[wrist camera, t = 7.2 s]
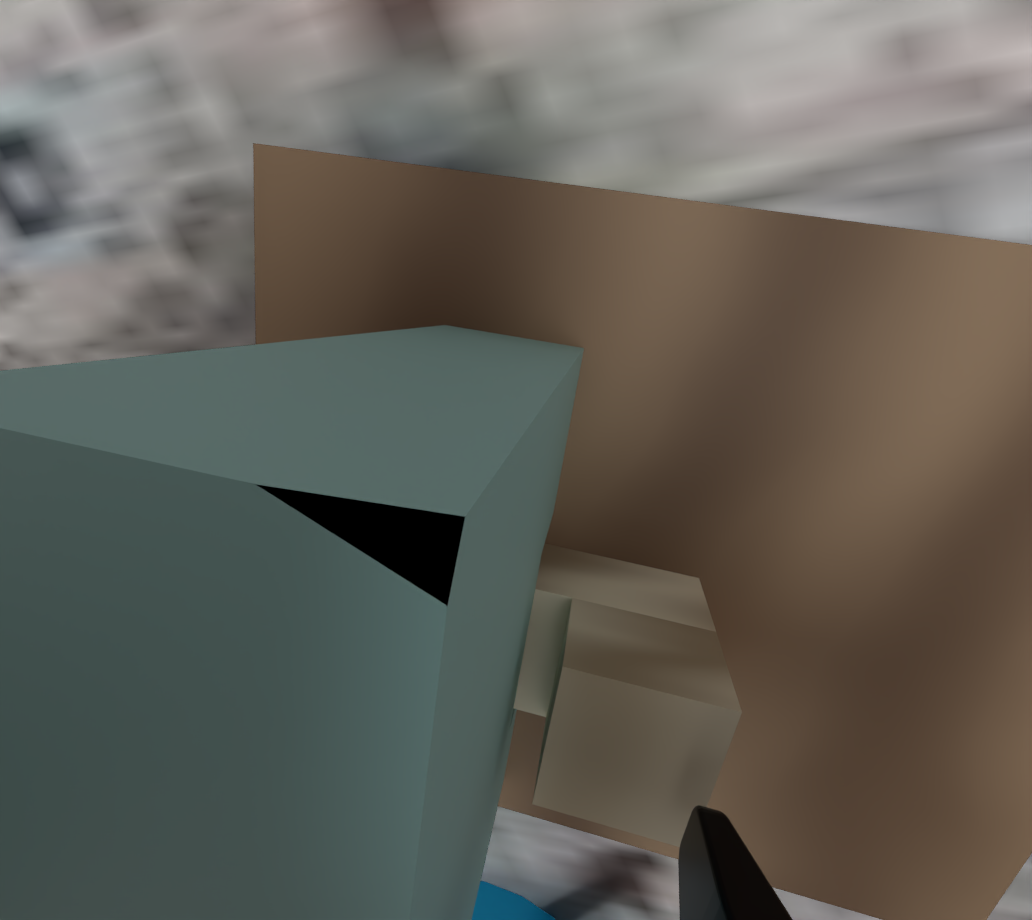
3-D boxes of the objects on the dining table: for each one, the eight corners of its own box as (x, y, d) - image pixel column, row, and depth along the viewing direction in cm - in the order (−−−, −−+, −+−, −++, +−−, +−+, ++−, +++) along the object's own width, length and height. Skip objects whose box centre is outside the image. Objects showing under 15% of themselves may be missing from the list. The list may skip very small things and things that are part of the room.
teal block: (584, 348, 10) (457, 526, 2) (503, 779, 14) (340, 1487, 6) (445, 325, 11) (-177, 387, 2) (403, 750, 14) (107, 1373, 6)
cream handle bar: (698, 578, 11) (742, 711, 8) (666, 684, 12) (690, 850, 9) (293, 487, 13) (157, 563, 9) (292, 589, 14) (169, 697, 10)
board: (1341, 296, 9) (1411, 295, 8) (949, 909, 14) (968, 944, 13) (277, 154, 11) (253, 143, 10) (276, 715, 16) (260, 735, 15)
